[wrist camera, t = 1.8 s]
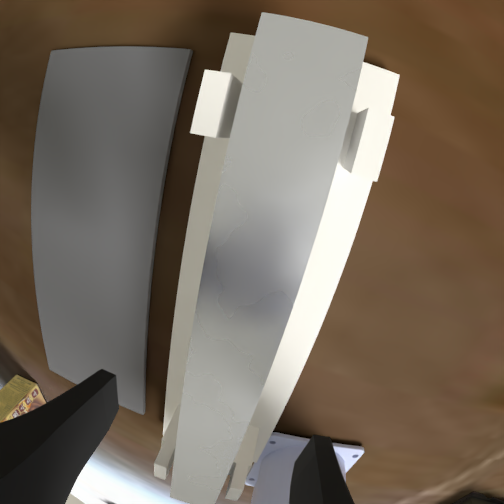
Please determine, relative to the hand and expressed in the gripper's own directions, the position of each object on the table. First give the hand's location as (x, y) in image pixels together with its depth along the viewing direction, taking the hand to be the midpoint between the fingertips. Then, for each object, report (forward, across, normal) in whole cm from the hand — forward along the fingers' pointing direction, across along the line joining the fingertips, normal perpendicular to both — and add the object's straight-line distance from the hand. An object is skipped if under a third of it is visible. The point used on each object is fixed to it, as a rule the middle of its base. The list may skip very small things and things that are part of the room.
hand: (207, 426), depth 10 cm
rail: (+4, 0, 0) cm, 4 cm away
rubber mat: (+9, +11, 0) cm, 14 cm away
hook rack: (+9, 0, 0) cm, 9 cm away
